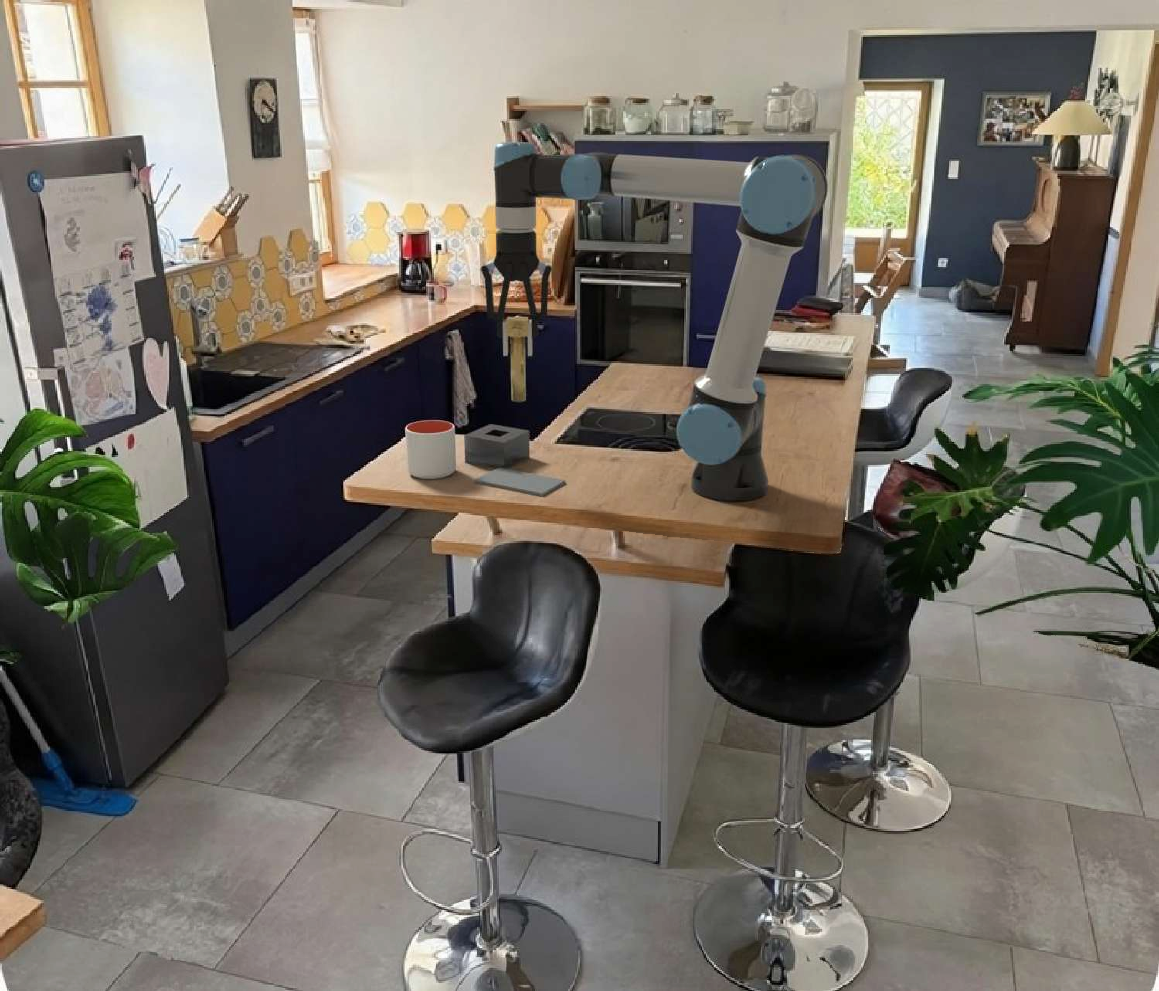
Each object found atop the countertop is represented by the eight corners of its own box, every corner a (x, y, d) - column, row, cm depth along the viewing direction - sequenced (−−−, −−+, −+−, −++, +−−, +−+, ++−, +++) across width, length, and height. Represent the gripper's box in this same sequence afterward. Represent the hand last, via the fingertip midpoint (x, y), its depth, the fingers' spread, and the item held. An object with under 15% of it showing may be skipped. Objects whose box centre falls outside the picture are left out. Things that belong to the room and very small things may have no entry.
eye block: (529, 457, 222) (529, 430, 220) (504, 470, 214) (503, 442, 212) (491, 450, 226) (490, 424, 224) (465, 462, 218) (464, 435, 216)
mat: (565, 482, 206) (565, 480, 206) (542, 496, 199) (542, 493, 199) (499, 469, 214) (499, 467, 213) (474, 482, 206) (474, 479, 206)
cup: (447, 482, 206) (445, 435, 203) (400, 479, 208) (397, 432, 205) (462, 467, 215) (460, 421, 212) (417, 463, 217) (415, 418, 214)
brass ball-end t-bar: (527, 409, 194) (526, 325, 189) (506, 409, 194) (505, 325, 189) (529, 391, 207) (528, 312, 201) (510, 391, 207) (508, 312, 201)
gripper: (562, 228, 193) (562, 350, 201) (471, 227, 192) (475, 350, 201) (562, 232, 186) (562, 358, 194) (468, 232, 185) (472, 358, 194)
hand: (517, 354), depth 197 cm, fingers closed on brass ball-end t-bar, 4 cm apart
